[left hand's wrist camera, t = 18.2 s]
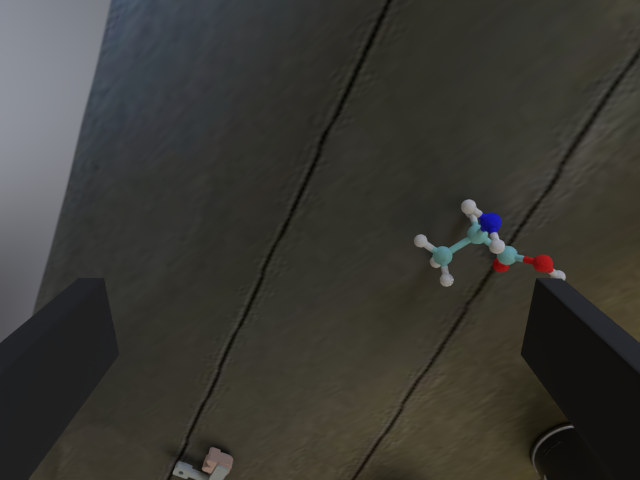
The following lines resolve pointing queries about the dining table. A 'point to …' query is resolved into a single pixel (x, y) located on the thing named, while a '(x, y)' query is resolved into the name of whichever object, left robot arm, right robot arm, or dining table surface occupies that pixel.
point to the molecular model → (479, 235)
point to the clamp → (207, 467)
